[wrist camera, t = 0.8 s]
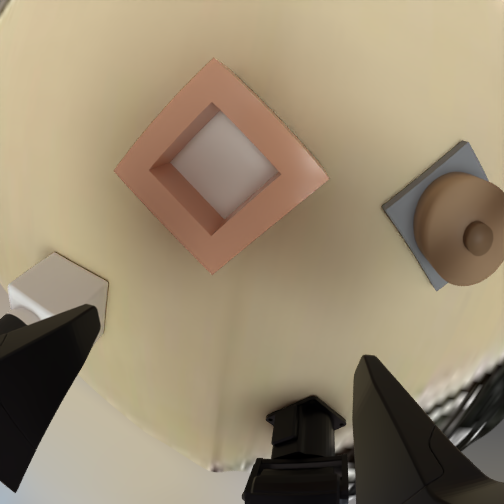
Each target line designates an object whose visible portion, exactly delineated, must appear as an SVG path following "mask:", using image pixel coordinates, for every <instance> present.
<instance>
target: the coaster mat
mask: <svg viewBox="0 0 504 504" xmlns="http://www.w3.org/2000/svg"><path fill="white" fill-rule="evenodd" d="M450 172H465V173H468V174H471V175H473V176H476V177H478V178H481V179H483V180H486V181H488V179H487V176H486V174H485V172H484V170H483V168H482V166H481V164H480V162H479V160H478V158H477V157H476V155H475V153H474V151H473V149H472V147H471V145H470V144H469V142H466V141H461V142H460V143H459V144H457V145H456V146H455V147H454V148H453V149H451V150H450V151H449V152H448V153H447V154H446V155H444V156H443V157H442V158H441V159H440V160H438V161H437V162H436V163H435V164H434V165H432V166H431V167H430V168H429V169H428V170H426V171H425V172H424V173H423V174H421V175H420V176H419V177H418V178H417V179H415V180H414V181H413V182H412V183H410V184H409V185H408V186H407V187H405V188H404V189H403V190H402V191H400V192H399V193H398V194H397V195H395V196H394V197H393V198H392V199H390V200H389V201H388V202H387V203H385V204H384V205H383V206H382V208H383V209H384V211H385V212H386V213H387V215H388V216H389V218H390V219H391V221H392V222H393V224H394V225H395V226H396V228H397V229H398V231H399V232H400V234H401V235H402V237H403V238H404V240H405V241H406V243H407V245H408V246H409V248H410V249H411V251H412V252H413V254H414V255H415V257H416V259H417V260H418V262H419V264H420V265H421V267H422V268H423V270H424V272H425V273H426V275H427V277H428V279H429V280H430V282H431V284H432V285H433V287H434V288H435V290H436V291H438V290H439V289H440V288H442V287H443V286H444V285H446V284H447V283H448V282H447V281H445V280H444V279H443V278H441V276H440V275H439V274H438V273H437V272H436V270H435V269H434V268H433V267H432V265H431V264H430V263H429V261H428V260H427V259H426V258H425V256H424V255H423V254H422V252H421V251H420V249H419V248H418V246H417V243H416V240H415V236H414V229H413V220H414V214H415V209H416V206H417V204H418V201H419V199H420V197H421V195H422V194H423V192H424V190H425V189H426V188H427V187H428V186H429V185H430V184H431V183H432V182H433V181H434V180H435V179H437V178H438V177H440V176H442V175H444V174H447V173H450ZM488 182H489V181H488Z"/></svg>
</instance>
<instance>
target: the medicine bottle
mask: <svg viewBox="0 0 504 504" xmlns="http://www.w3.org/2000/svg"><path fill="white" fill-rule="evenodd" d="M107 291H108V282H107V281H106V280H104V279H102V278H100V277H98V276H96V275H94V274H93V273H91V272H89V271H87V270H85V269H83V268H82V267H80V266H78V265H76V264H74V263H73V262H71V261H69V260H67V259H66V258H64V257H62V256H61V255H59V254H57V253H55V252H54V253H52V254H51V255H49V256H48V257H46V258H45V259H43V260H42V261H40V262H39V263H37V264H36V265H34V266H33V267H32V268H30V269H29V270H27V271H26V272H25V273H23V274H22V275H20V276H19V277H18V278H16V279H15V280H13V281H12V282H11V283H9V285H8V293H9V300H10V306H11V310H10V311H9V312H8V313H7V314H6V315H4V316H3V317H2V318H1V319H0V335H3V334H6V333H7V334H8V333H9V332H11V331H14V330H16V329H19V328H22V327H24V326H27V325H30V324H32V323H35V322H38V321H41V320H43V319H46V318H49V317H51V316H54V315H57V314H59V313H62V312H65V311H67V310H70V309H73V308H76V307H78V306H81V305H84V304H90V305H94V306H96V308H97V310H98V314H99V319H100V323H101V329H100V332H99V334H98V336H97V338H96V340H95V342H94V344H95V343H96V342H97V340H98V339H99V338H100V337H101V336H102V334H103V332H104V321H105V309H106V300H107ZM94 344H93V345H94ZM92 347H93V346H92Z"/></svg>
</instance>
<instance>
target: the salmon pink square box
mask: <svg viewBox="0 0 504 504" xmlns="http://www.w3.org/2000/svg"><path fill="white" fill-rule="evenodd" d="M114 172H115V173H116V174H117V175H118V176H119V177H120V179H121V180H122V181H123V182H124V183H125V184H126V185H127V186H128V187H129V188H130V190H131V191H132V192H133V193H134V194H135V195H136V196H137V197H138V198H139V199H140V200H141V201H142V203H143V204H144V205H145V206H146V207H147V208H148V209H149V210H150V211H151V212H152V213H153V214H154V215H155V216H156V217H157V219H158V220H159V221H160V222H161V223H162V224H163V225H164V226H165V227H166V228H167V229H168V230H169V231H170V232H171V233H172V234H173V235H174V236H175V237H176V238H177V240H178V241H179V242H180V243H181V244H182V245H183V246H184V247H185V248H186V249H187V250H188V251H189V252H190V253H191V254H192V255H193V256H194V257H195V258H196V259H197V260H198V261H199V262H200V263H201V264H202V265H203V266H204V267H205V268H206V269H207V270H208V271H209V272H210V273H211V274H212V275H213V274H214V273H215V272H216V271H217V270H219V269H220V268H221V267H222V266H224V265H225V264H226V263H227V262H228V261H230V260H231V259H232V258H233V257H235V256H236V255H237V254H238V253H239V252H241V251H242V250H243V249H244V248H245V247H247V246H248V245H249V244H250V243H252V242H253V241H254V240H255V239H256V238H258V237H259V236H260V235H261V234H263V233H264V232H265V231H266V230H267V229H269V228H270V227H271V226H272V225H274V224H275V223H276V222H277V221H278V220H280V219H281V218H282V217H283V216H285V215H286V214H287V213H288V212H290V211H291V210H292V209H293V208H294V207H296V206H297V205H298V204H299V203H301V202H302V201H303V200H304V199H305V198H307V197H308V196H309V195H310V194H312V193H313V192H314V191H315V190H317V189H318V188H319V187H320V186H322V185H323V184H324V183H325V182H326V181H328V180H329V179H330V178H329V177H328V175H327V173H326V171H325V169H324V168H323V167H322V165H321V164H320V163H319V162H318V161H317V159H316V158H315V157H314V156H313V155H312V154H311V153H310V151H309V150H308V149H307V148H306V147H305V146H304V145H303V144H302V142H301V141H300V140H299V139H298V138H297V137H296V136H295V135H294V134H293V132H292V131H291V130H290V129H289V128H288V127H287V126H286V125H285V124H284V123H283V122H282V121H281V120H280V118H279V117H278V116H277V115H276V114H275V113H274V112H273V111H272V110H271V109H270V108H269V107H268V106H267V105H266V104H265V103H264V102H263V101H262V100H261V99H260V98H259V97H258V96H257V95H256V94H255V93H254V92H253V91H252V90H251V89H250V88H249V87H248V86H247V85H246V84H245V83H244V82H243V81H242V80H241V79H240V78H239V77H238V76H237V75H236V74H234V73H233V72H232V71H231V70H230V69H229V68H227V67H226V66H225V65H223V64H222V63H221V62H219V61H218V60H216V59H215V58H213V59H212V60H211V61H209V62H208V63H207V64H206V65H205V66H204V67H203V68H202V69H201V70H200V71H199V72H198V73H197V74H196V75H195V76H194V77H193V78H192V79H191V80H190V81H189V82H188V83H187V84H186V85H185V86H184V87H183V88H182V89H181V90H180V92H179V93H178V94H177V95H176V96H175V97H174V98H173V99H172V100H171V101H170V102H169V103H168V105H167V106H166V107H165V108H164V109H163V110H162V111H161V112H160V113H159V115H158V116H157V117H156V118H155V119H154V120H153V122H152V123H151V124H150V125H149V126H148V127H147V129H146V130H145V131H144V132H143V133H142V135H141V136H140V137H139V138H138V140H137V141H136V142H135V143H134V145H133V146H132V147H131V148H130V150H129V151H128V152H127V153H126V155H125V156H124V157H123V159H122V160H121V161H120V163H119V164H118V165H117V167H116V168H115V169H114Z"/></svg>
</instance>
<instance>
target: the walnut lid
mask: <svg viewBox="0 0 504 504" xmlns="http://www.w3.org/2000/svg"><path fill="white" fill-rule="evenodd" d="M413 229H414V236H415V240H416V243H417V246H418V248H419V249H420V251H421V252H422V254H423V255H424V256H425V258H426V259H427V260H428V261H429V263H430V264H431V265H432V267H433V268H434V269H435V270H436V272H437V273H438V274H439V275H440V276H441V278H443V279H444V280H445V281H447V282H449V283H451V284H454V285H458V286H469V285H473V284H476V283H479V282H481V281H483V280H484V279H486V278H488V277H489V276H490V275H491V274H493V273H494V272H495V271H496V270H497V268H498V267H499V266H500V265H501V263H502V262H503V260H504V192H503V191H502V190H501V189H500V188H499V187H497V186H496V185H494V184H493V183H490V182H488V181H486V180H483V179H481V178H478V177H476V176H473V175H471V174H468V173H465V172H450V173H447V174H444V175H442V176H440V177H438V178H437V179H435V180H434V181H433V182H432V183H431V184H430V185H429V186H428V187H427V188H426V189H425V190H424V192H423V194H422V195H421V197H420V199H419V201H418V204H417V206H416V209H415V214H414V220H413Z"/></svg>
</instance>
